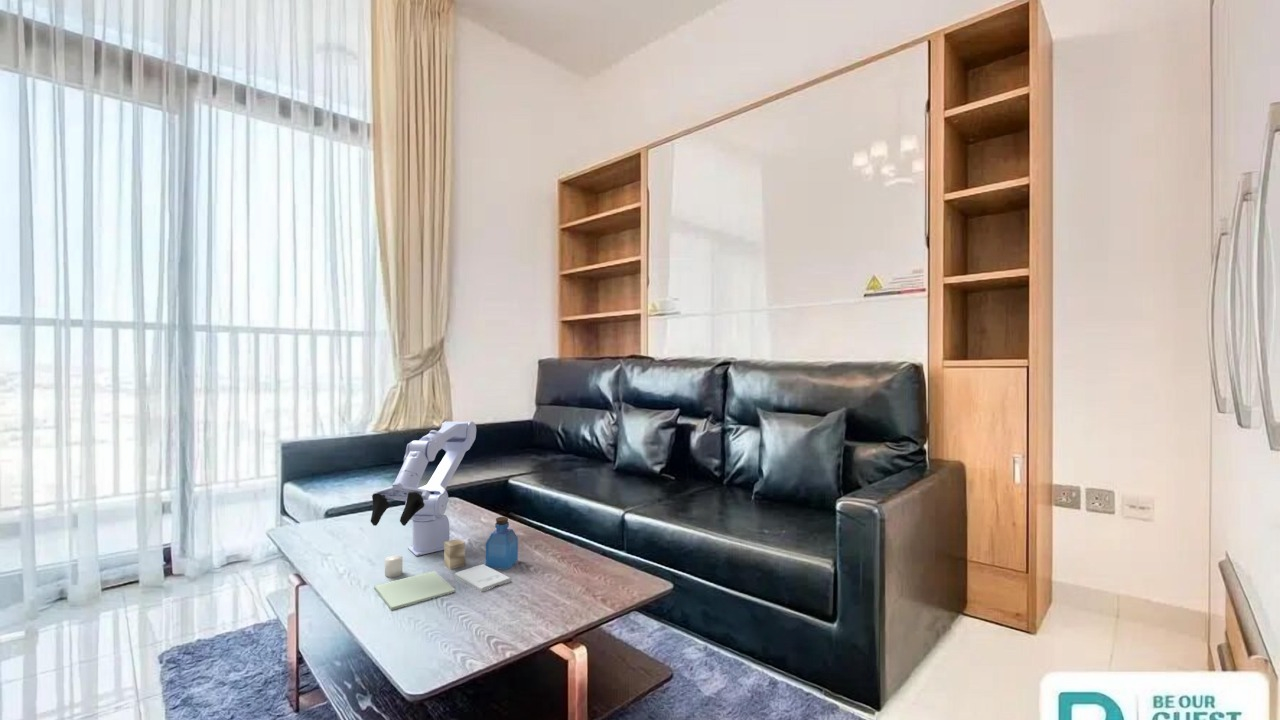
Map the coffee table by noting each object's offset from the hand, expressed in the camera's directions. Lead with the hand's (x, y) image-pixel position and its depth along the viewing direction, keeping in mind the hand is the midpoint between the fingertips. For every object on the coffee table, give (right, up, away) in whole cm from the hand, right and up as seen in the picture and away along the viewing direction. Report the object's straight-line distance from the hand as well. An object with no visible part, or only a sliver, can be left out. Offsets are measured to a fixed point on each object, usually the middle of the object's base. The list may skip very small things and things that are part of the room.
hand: (387, 523), depth 134 cm
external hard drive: (+23, -15, +1) cm, 27 cm away
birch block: (+13, -14, +9) cm, 21 cm away
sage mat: (+9, -14, -6) cm, 18 cm away
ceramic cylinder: (0, -14, +3) cm, 14 cm away
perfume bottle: (+25, -14, +10) cm, 31 cm away
